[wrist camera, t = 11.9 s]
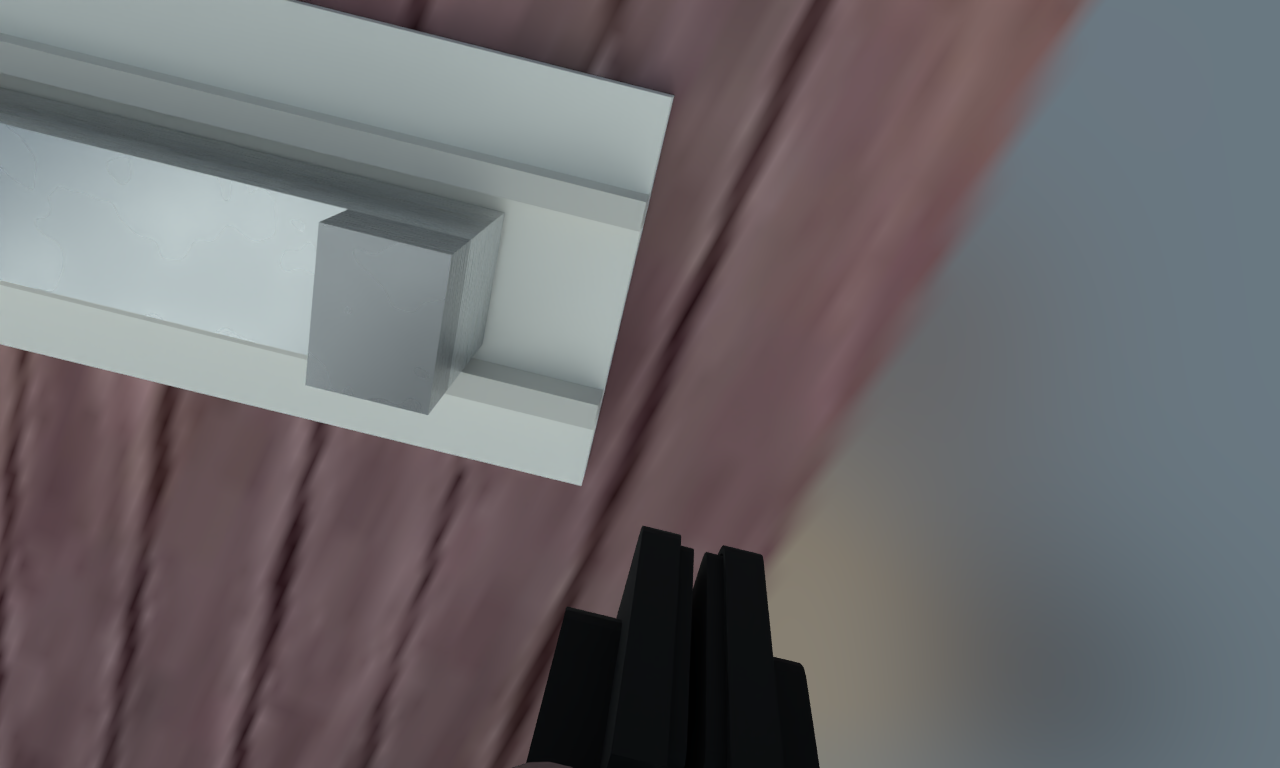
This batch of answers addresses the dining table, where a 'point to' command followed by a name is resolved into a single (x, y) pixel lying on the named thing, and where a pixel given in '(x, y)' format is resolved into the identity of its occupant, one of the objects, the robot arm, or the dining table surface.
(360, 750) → the dining table surface
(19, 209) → the grey sliding carriage block
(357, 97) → the grey slide rail track
